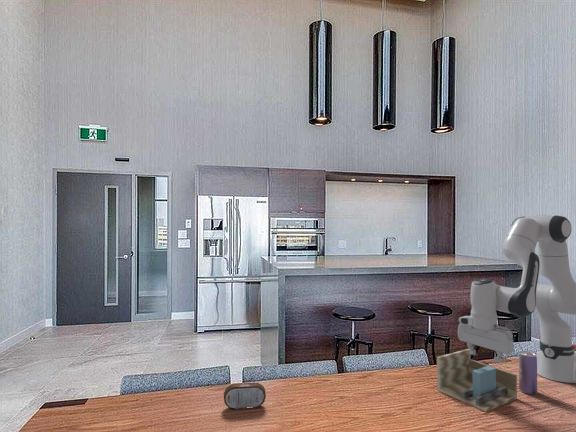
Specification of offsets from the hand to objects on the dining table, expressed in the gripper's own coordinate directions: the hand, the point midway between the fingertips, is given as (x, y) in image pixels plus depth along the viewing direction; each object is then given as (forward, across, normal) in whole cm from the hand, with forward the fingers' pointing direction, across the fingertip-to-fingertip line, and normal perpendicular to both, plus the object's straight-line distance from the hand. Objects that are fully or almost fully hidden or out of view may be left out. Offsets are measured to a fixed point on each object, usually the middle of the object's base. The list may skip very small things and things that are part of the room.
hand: (484, 358), depth 140 cm
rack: (+15, +4, 0) cm, 16 cm away
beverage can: (+16, -5, -20) cm, 26 cm away
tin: (+13, +39, +82) cm, 92 cm away
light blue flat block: (+14, 0, +1) cm, 14 cm away
